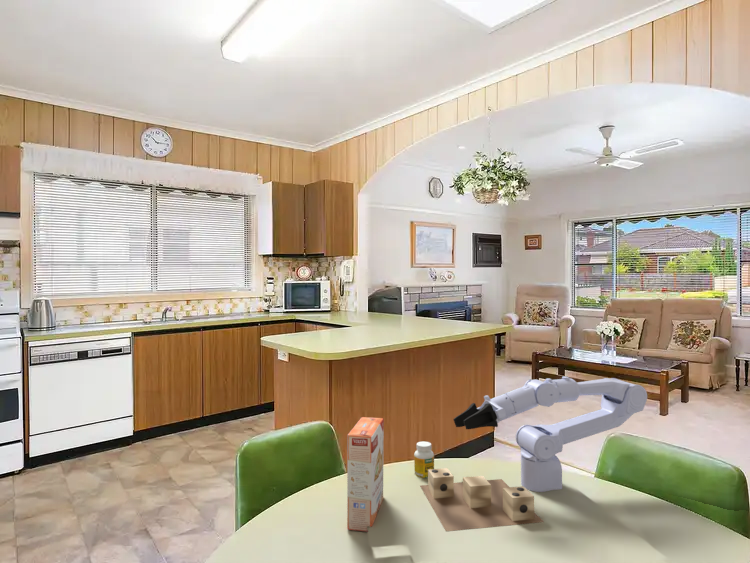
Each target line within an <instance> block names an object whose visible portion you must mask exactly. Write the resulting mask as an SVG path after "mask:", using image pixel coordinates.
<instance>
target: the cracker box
mask: <svg viewBox="0 0 750 563" xmlns="http://www.w3.org/2000/svg"><path fill="white" fill-rule="evenodd" d="M384 423H385V421H384V418H383V417H369V416H368V417H365V416H362V417H360V418H359V420H358V421H357V423H356V424H355V425H354V426H353V428H352V429H351V430H350V431H349V433H348V434H347V445H346V446H347V466H346V467H347V469H346V470H347V476H346V477H347V480H346V481H347V482H346V484H347V485H346V486H347V492H346V493H347V494H346V496H347V502H346V503H347V504H346V505H347V506H346V508H347V513H346V515H347V516H346V517H347V518H346V520H347V522H346V524H347V525H346V526H347V527H346V528H347V530H348V531H357V532H366V533H367V532H369V530H368V527H373V525H374V522H375V520H376V518H377V516H378V512H379V510H380V508H381V505H382V503H383V501H384V500H383V499H384V435H385V434H384Z"/></svg>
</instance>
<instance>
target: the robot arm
mask: <svg viewBox="0 0 750 563" xmlns="http://www.w3.org/2000/svg"><path fill="white" fill-rule="evenodd" d="M600 395H601V398H600V400H601V401H600V409H598V410H594V411H591V412H587V413H585V414H582V415H581V414H580V415H578V416H575V417H572V418H567V419H565V420H562V421H559V422H555V423H553V424H541V423H540V424H535V425H533V424H532V425H531V424H524V425H521V426H519V428H518V429H517V431H516V432H515V433H516V434H515V441H516V444H517V445H518V447H519V448H520V449H519V450H520V485H521V486H524V487H525V488H526V489H527V490H528V491H532V492H537V493H545V492H549V491H556V490H563V467H562V464H561V460H560V459H559V458H558V456H557V454H559V453H561V452H563V446H564V445H566V444H567V445H568V444H570V443H573V442H576V441H579V440H582V439H585V438H588V437H591V436H594V435H597V434H600V433H603V432H607V431H609V430H613V429H616V428H618V427H620V426H622V425H624V423H626V421H627V420H629V419H630V418H631V417H632V416H633V415H634V414H637V413H640V412H642V411H644V408H645V406H646V403H647V400H648V393H647V390H646V389H645V387H644V386H643V385H640V384H635V383H631V382H628V381H626V380H625V381H624V380H621V379H619V378H616V377H611V378H608V377H604V378H599V379H598V378H597V379H592V380H585V381H578V382H577V381H576V380H575V379H573V378H571V377H570V376H569V377H568V376H562V377H561V378H559V379H558V378H557V379H552V378H545V380H543V381H542V380H539V379H537V378H536V379H531V378H530V379H528V380H526V381H525V383H524V384H523V386H521V387H518V388H515V389H513V390H511V391H507V392H505V393H503V394H500V395H497V396H495V397H493V398H490V396H489V395H488V394H487V395H486V394H485V395H484V396H483V399H484V401H483V402H482V404H481V405H480V406H479V407H477V404H476V402H472V403H471V404H470V405H469V406H468V407H467V408H466V409H465V410H464V411H463V412H461V413H460V414H458V415H457V416H455V417H454V418H453V422H454V426H455V428H464V427H465V430H474V429H479V428H487V427H491V428H498V427H499V423H500V422H502V421H505V420H507V419H510V418H511V417H515V416H517V415H520V414H522V413H524V412H526V411H529V410H532V409H534V408H537V407H539V405H540V406H541V407H547V408H550V407H551V406H553V405H554V404H555V403H565V402H567V403H568V402H574V401H575V402H576V401H577V400H578V399H579V397H580V396H600Z"/></svg>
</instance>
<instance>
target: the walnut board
mask: <svg viewBox="0 0 750 563" xmlns="http://www.w3.org/2000/svg"><path fill="white" fill-rule="evenodd" d="M486 480H487V481H488V482H489V483H490V484H491V506H490V507H479V508H470V507H469V506H468V504H467V503H466V501H465V500H464V499H463V481H460V482H454V497H447V498H435V499H434V498H433V497H432V495H431V493H430V492H429V490H428V484H422V485H419V486H420V489H421V490H422V492H423V494H424V496H425V497H426V499H427V500H428V502H429V504H430V506H431V508H432V510H433V512H434V513H435V515H436V517H437V519H438V520H439V522H440V524H441V525H442V528H443V529H444V531H445V532H453V531H464V530H466V531H467V530H476V529H487V528H497V527H507V526H519V525H520V526H521V525H529V524H539V523H545V521H544V520H543V519H542V518H541V517H540V516H539V515H538V514H537V513H536V512H535V511H534V519H529V520H519V521H512V520H511V518H510V517H509V516H508V515H507V514H506V513H505V512H504V510H503V488H509V487H510V486H509V485H508V484H507V483H506V482H505V481H504V480H503V479H502V478H501V479H500V478H498V479H497V478H496V479H486Z"/></svg>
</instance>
